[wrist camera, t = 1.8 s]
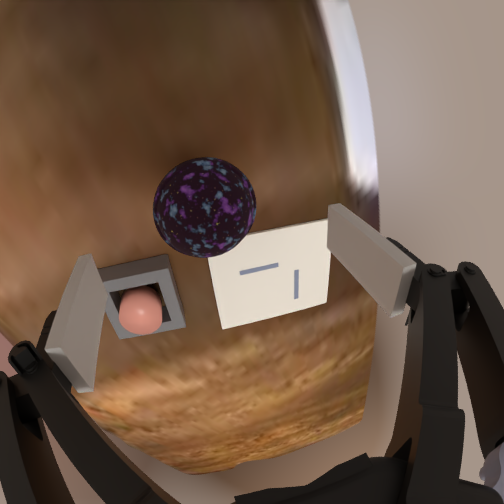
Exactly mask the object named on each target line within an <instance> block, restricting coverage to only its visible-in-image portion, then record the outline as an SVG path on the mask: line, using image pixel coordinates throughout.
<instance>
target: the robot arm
mask: <svg viewBox="0 0 504 504" xmlns="http://www.w3.org/2000/svg"><path fill="white" fill-rule="evenodd" d="M327 248H328V249H329V250H330V251H331V253H332V254H333V255H334V256H335V257H336V258H337V259H338V260H339V261H340V262H341V263H342V264H343V265H344V267H345V268H346V269H347V270H348V271H349V272H350V273H351V274H352V275H353V276H354V277H355V279H356V280H357V281H358V282H359V283H360V284H361V285H362V286H363V287H364V289H365V290H366V291H367V292H368V293H369V294H370V295H371V296H372V297H373V299H374V300H375V301H376V302H377V303H378V304H379V305H380V307H381V308H382V309H383V310H384V311H385V312H386V314H387V315H388V316H389V317H390V318H392V317H394V316H396V315H399V314H401V313H403V311H404V308H405V304H406V303H407V304H408V305H409V306H410V307H411V308H410V312H409V315H408V317H407V321H406V323H405V325H407V324H408V334H407V346H406V356H405V365H404V374H403V380H402V388H401V394H400V400H399V406H398V411H397V416H396V422H395V426H394V431H393V436H392V439H391V442H390V444H389V446H388V449H387V451H386V453H385V456H384V457H371V458H369V457H368V456H367V454H366V453H364V454H362V455H360V456H358V457H355V458H353V459H351V460H349V461H346V462H344V463H342V464H339V465H337V466H335V467H334V468H332V469H331V470H329V471H328V472H327V473H325V474H324V475H322V476H321V477H319V478H317V479H316V480H314V481H313V482H311V483H310V484H308V485H305V486H298V487H285V488H270V489H264V490H261V491H256V492H252V493H248V494H243V495H239V496H235V497H234V498H235V501H236V502H234V503H232V504H504V309H503V307H502V305H501V304H500V302H499V300H498V298H497V296H496V295H495V293H494V291H493V289H492V288H491V286H490V284H489V283H488V281H487V279H486V278H485V276H484V274H483V273H482V271H481V270H480V269H479V267H478V266H476V265H475V264H473V263H471V262H461V263H459V266H458V269H457V271H453V272H447V271H446V270H445V269H444V268H443V267H441V266H439V265H436V264H424V263H423V262H422V261H421V260H420V259H418V258H417V257H416V256H415V255H414V254H412V253H411V252H409V251H408V250H407V249H406V248H405V247H403V246H402V245H401V244H400V243H398V242H397V241H395V240H393V239H391V238H388V237H387V238H385V237H384V236H382V235H381V234H380V233H379V232H377V231H376V230H375V229H374V228H372V227H371V226H370V225H368V224H367V223H366V222H364V221H363V220H362V219H361V218H359V217H358V216H357V215H355V214H354V213H352V212H351V211H350V210H348V209H347V208H346V207H344V206H343V205H342V204H340V203H339V204H333V205H328V229H327ZM107 297H108V294H107V291H106V289H105V287H104V284H103V282H102V280H101V277H100V275H99V272H98V270H97V267H96V265H95V262H94V260H93V257H92V254H86V255H82V256H79V257H78V259H77V262H76V264H75V266H74V269H73V271H72V273H71V276H70V278H69V281H68V283H67V286H66V288H65V291H64V293H63V296H62V299H61V301H60V304H59V307H58V310H55V311H52V312H51V313H50V314H49V316H48V317H47V318H46V320H45V323H44V326H43V329H42V332H41V335H40V337H39V340H38V344H37V347H36V348H35V347H34V345H33V344H32V343H31V342H30V341H21V342H19V343H18V344H16V345H15V346H14V347H13V348H12V350H11V351H10V353H9V356H8V361H9V363H10V364H11V366H12V367H13V368H14V369H15V371H16V372H17V373H18V374H16V375H14V376H12V377H7V375H6V374H5V373H4V372H3V371H0V481H1V484H2V488H3V492H4V495H5V498H6V501H7V504H75V503H74V501H73V499H72V497H71V494H70V492H69V490H68V488H67V486H66V484H65V481H64V479H63V476H62V474H61V472H60V469H59V467H58V464H57V462H56V459H55V456H54V454H53V451H52V448H51V445H50V442H49V439H48V436H47V433H46V430H45V427H44V423H43V420H44V421H45V423H46V425H47V426H48V428H49V430H50V431H51V433H52V434H53V436H54V437H55V439H56V440H57V442H58V443H59V445H60V446H61V448H62V449H63V451H64V452H65V454H66V455H67V456H68V458H69V459H70V461H71V462H72V463H73V465H74V466H75V467H76V469H77V470H78V471H79V472H80V474H81V475H82V476H83V477H84V479H85V480H86V481H87V482H88V484H90V486H91V487H92V488H93V490H94V491H95V492H96V493H97V494H98V495H99V496H100V498H101V499H102V500H103V501H104V502H105V503H106V504H181V503H179V502H178V501H177V500H175V499H174V498H173V497H172V496H170V495H169V494H168V493H167V492H165V491H164V490H163V489H162V488H161V487H159V486H158V485H157V484H156V483H154V481H152V480H151V479H150V478H149V477H148V476H147V475H146V474H145V473H143V472H142V471H141V470H140V469H139V468H138V467H137V466H136V465H135V464H134V463H133V462H131V460H130V459H129V458H128V457H127V456H125V454H124V453H123V452H122V451H121V450H120V449H119V448H118V447H117V446H116V445H115V444H114V443H113V442H112V441H111V440H110V439H109V438H108V437H107V436H106V434H105V433H104V432H103V431H102V430H101V429H100V428H99V427H98V425H97V424H96V423H95V422H94V421H93V420H92V418H91V417H90V416H89V415H88V414H87V412H86V411H85V410H84V409H83V407H82V406H81V405H80V404H79V402H78V401H77V400H76V398H75V397H74V396H73V395H72V394H71V386H73V387H74V388H75V389H76V391H77V392H78V393H82V392H93V391H94V381H95V372H96V364H97V356H98V349H99V342H100V335H101V329H102V323H103V318H104V312H105V307H106V302H107ZM457 352H458V355H459V358H460V361H461V365H462V368H463V372H464V375H465V379H466V383H467V387H468V391H469V395H470V399H471V404H472V408H473V413H474V418H475V422H476V428H477V433H478V438H479V443H480V447H481V450H482V454H483V457H484V459H485V462H484V466H483V467H482V468H481V470H480V473H479V476H480V478H481V479H482V480H484V481H485V482H484V485H481V484H477V483H473V482H469V481H465V480H462V479H459V475H460V468H461V461H462V453H463V442H464V429H465V413H464V411H463V410H462V409H459V408H458V366H457V365H458V364H457V363H458V362H457ZM42 418H43V420H42Z"/></svg>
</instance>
